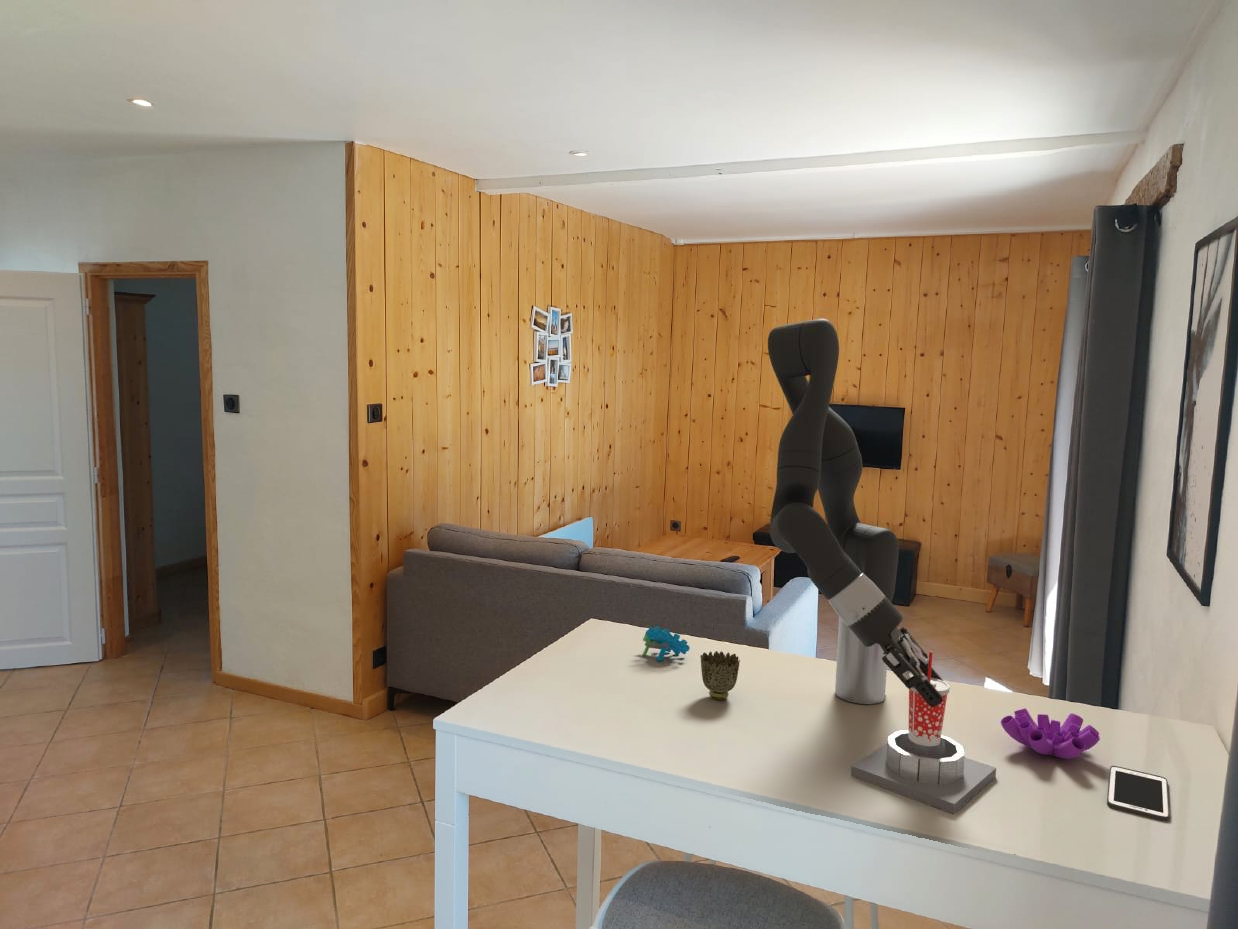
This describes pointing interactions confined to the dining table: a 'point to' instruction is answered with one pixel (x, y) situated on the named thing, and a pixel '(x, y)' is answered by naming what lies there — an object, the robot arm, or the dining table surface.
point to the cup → (719, 673)
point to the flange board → (931, 794)
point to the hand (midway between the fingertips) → (939, 695)
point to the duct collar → (925, 759)
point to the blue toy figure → (664, 642)
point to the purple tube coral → (1051, 734)
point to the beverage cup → (927, 713)
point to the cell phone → (1138, 793)
